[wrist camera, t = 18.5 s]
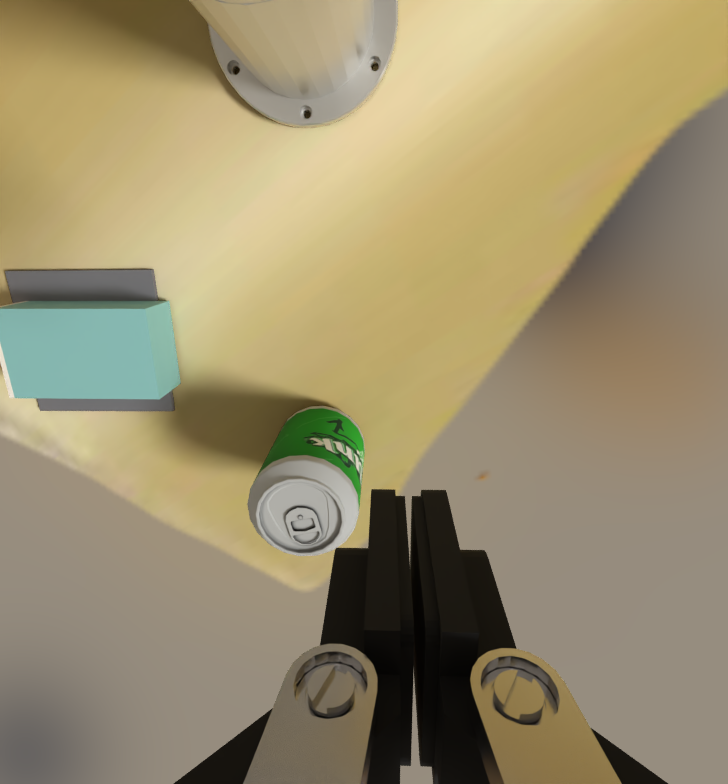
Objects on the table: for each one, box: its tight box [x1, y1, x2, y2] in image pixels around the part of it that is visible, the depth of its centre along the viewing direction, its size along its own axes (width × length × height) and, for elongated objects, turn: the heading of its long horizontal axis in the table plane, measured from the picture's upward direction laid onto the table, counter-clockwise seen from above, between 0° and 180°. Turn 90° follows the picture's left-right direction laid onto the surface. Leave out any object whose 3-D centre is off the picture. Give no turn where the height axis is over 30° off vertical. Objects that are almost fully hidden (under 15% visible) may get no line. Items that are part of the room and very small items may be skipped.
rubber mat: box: [5, 269, 175, 411], centre depth 40 cm, size 12×12×1 cm
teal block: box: [0, 301, 181, 399], centre depth 38 cm, size 7×4×12 cm
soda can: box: [248, 406, 365, 556], centre depth 36 cm, size 8×8×12 cm
